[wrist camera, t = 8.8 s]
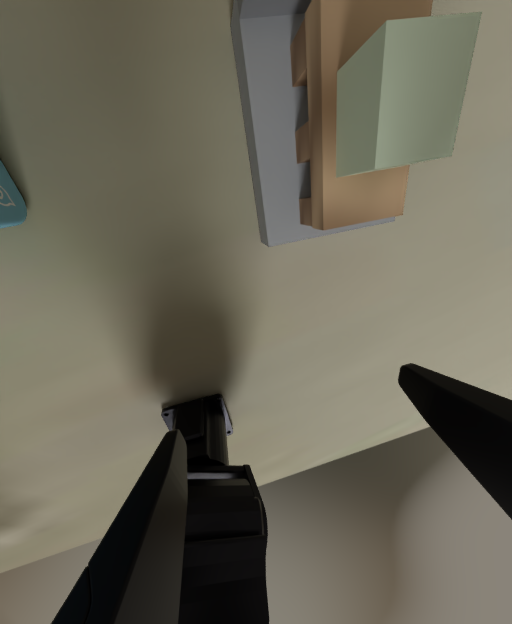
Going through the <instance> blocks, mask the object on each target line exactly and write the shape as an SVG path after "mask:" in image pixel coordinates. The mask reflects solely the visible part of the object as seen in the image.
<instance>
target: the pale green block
mask: <svg viewBox="0 0 512 624" xmlns="http://www.w3.org/2000/svg"><path fill="white" fill-rule="evenodd" d="M481 14H482V12H472V13H461V14H450V15H440V16H429V17H418V18H407V19H397V20H387V21H386V22H385V23H384V24H383V25H382V26H381V27H380V28H379V29H378V30H377V31H376V32H375V33H374V34H373V35H372V36H371V37H370V38H369V39H368V40H367V41H366V42H365V43H364V44H363V45H362V46H361V47H360V49H359V50H358V51H357V52H356V53H355V54H354V55H353V56H352V57H351V58H350V59H349V60H348V61H347V62H346V63H345V64H344V65H343V66H342V67H341V68H340V69H339V70H338V71H337V120H336V178H337V177H343V176H349V175H355V174H361V173H366V172H372V171H378V170H384V169H390V168H395V167H401V166H405V165H410V164H415V163H420V162H425V161H430V160H435V159H440V158H445V157H450V156H452V152H453V147H454V142H455V137H456V133H457V128H458V123H459V118H460V114H461V109H462V104H463V99H464V95H465V90H466V85H467V80H468V76H469V71H470V66H471V61H472V57H473V52H474V47H475V43H476V38H477V33H478V28H479V24H480V19H481Z"/></svg>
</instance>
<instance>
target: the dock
mask: <svg viewBox="0 0 512 624" xmlns="http://www.w3.org/2000/svg"><path fill="white" fill-rule="evenodd" d="M311 1H312V0H234V3H233V11H232V18H231V33H232V40H233V47H234V54H235V61H236V68H237V75H238V82H239V89H240V96H241V103H242V110H243V117H244V124H245V131H246V138H247V145H248V152H249V160H250V167H251V174H252V181H253V188H254V195H255V202H256V209H257V216H258V223H259V230H260V237H261V242H262V243H264V244H265V245H267V246H268V247H271V246H275V245H280V244H285V243H290V242H295V241H300V240H305V239H310V238H315V237H320V236H324V235H329V234H334V233H339V232H344V231H349V230H354V229H359V228H364V227H368V226H373V225H378V224H383V223H388V222H393V221H395V216H394V217H389V218H384V219H379V220H374V221H369V222H364V223H359V224H354V225H349V226H344V227H339V228H334V229H329V230H324V231H323V230H318V229H314V228H312V226H307V225H302V224H300V210H299V199H302V198H307V197H311V175H310V162H305V163H299V164H297V158H296V141H295V132H296V131H297V130H298V129H299V128H300V127H302V126H303V125H304V124H305V123H306V122H308V121H309V117H308V89H307V85H306V86H298V87H292V72H291V54H290V45H291V43H292V41H293V39H294V37H295V35H296V34H297V32H298V30H299V28H300V26H301V24H302V22H303V20H304V18H305V12H306V11H307V9H308V7H309V5H310V3H311Z"/></svg>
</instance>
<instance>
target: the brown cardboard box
mask: <svg viewBox="0 0 512 624" xmlns="http://www.w3.org/2000/svg"><path fill="white" fill-rule="evenodd" d="M432 2H433V0H312V1H311V3H310V5H309V7H308V9H307V11H306V12H305V18H304V20H303V22H302V24H301V26H300V28H299V30H298V32H297V34H296V35H295V37H294V39H293V41H292V43H291V45H290V54H291V72H292V87H298V86H306V85H307V89H308V117H309V121H308V122H306V123H305V124H304V125H303V126H302V127H300V128H299V129H298V130H297V131H296V132H295V141H296V158H297V164H299V163H305V162H310V175H311V197H307V198H302V199H299V210H300V224H302V225H307V226H312V228H314V229H318V230H323V231H324V230H329V229H334V228H339V227H344V226H349V225H354V224H359V223H364V222H369V221H374V220H379V219H384V218H389V217H394V216H399V215H403V208H404V201H405V194H406V187H407V180H408V173H409V166H410V165H405V166H401V167H395V168H390V169H384V170H378V171H372V172H366V173H361V174H355V175H349V176H343V177H337V178H336V120H337V71H338V70H339V69H340V68H341V67H342V66H343V65H344V64H345V63H346V62H347V61H348V60H349V59H350V58H351V57H352V56H353V55H354V54H355V53H356V52H357V51H358V50H359V49H360V47H361V46H362V45H363V44H364V43H365V42H366V41H367V40H368V39H369V38H370V37H371V36H372V35H373V34H374V33H375V32H376V31H377V30H378V29H379V28H380V27H381V26H382V25H383V24H384V23H385V22H386V21H387V20H397V19H407V18H418V17H429V16H431V9H432Z"/></svg>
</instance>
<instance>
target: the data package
mask: <svg viewBox="0 0 512 624" xmlns="http://www.w3.org/2000/svg"><path fill="white" fill-rule="evenodd" d="M26 216H27V209H26V205H25V202H24V200H23V198H22V196H21V194H20V192H19V191H18V189H17V187H16V186H15V184H14V182H13V180H12V179H11V177H10V175H9V174H8V172H7V170H6V168H5V167H4V165H3V163H2V162H1V160H0V228H5V227H10V226H16V225H19V224H22V223H23V222H24V221H25V219H26Z"/></svg>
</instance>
